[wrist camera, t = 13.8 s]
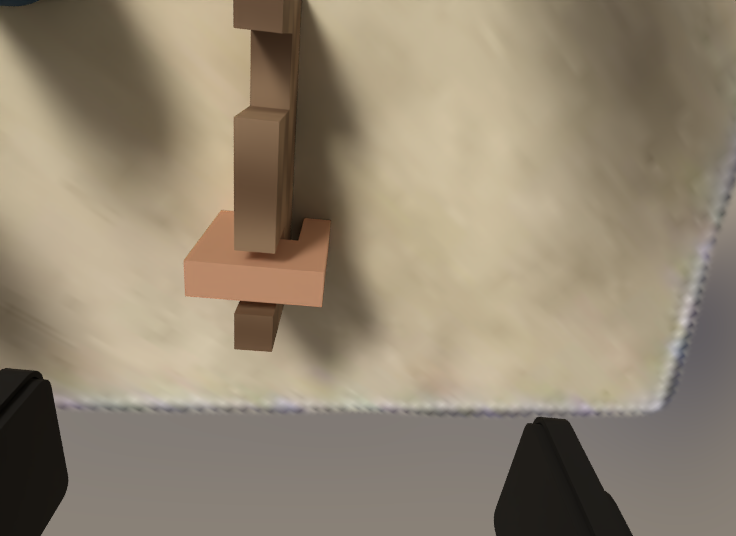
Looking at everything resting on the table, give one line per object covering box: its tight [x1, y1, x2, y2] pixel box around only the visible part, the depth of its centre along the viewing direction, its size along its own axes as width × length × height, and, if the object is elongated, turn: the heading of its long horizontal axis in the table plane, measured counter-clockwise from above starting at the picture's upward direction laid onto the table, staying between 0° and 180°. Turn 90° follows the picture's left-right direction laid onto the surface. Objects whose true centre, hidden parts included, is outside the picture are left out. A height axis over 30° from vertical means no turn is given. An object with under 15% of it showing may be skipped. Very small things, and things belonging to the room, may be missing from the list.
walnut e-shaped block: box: [233, 0, 302, 352], centre depth 28 cm, size 18×2×8 cm, turn 174°
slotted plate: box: [184, 210, 331, 307], centre depth 30 cm, size 2×7×8 cm, turn 84°
